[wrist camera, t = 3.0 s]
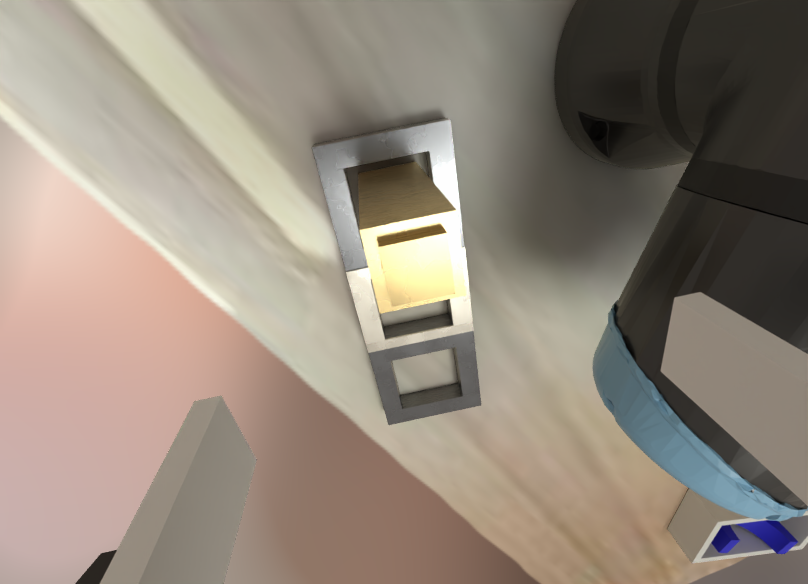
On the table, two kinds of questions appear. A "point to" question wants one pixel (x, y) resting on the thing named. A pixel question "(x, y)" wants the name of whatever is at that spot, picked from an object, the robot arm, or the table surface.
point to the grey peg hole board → (378, 339)
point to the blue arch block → (765, 530)
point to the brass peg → (409, 238)
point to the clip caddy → (705, 519)
